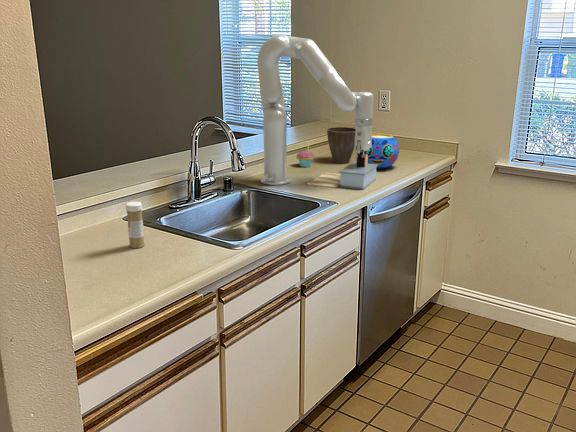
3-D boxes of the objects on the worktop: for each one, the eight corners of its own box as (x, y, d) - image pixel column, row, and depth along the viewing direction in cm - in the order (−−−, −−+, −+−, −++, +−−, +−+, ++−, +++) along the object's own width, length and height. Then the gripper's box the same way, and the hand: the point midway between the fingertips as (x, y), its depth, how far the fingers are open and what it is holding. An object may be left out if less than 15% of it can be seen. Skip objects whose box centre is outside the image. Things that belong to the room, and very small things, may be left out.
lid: (364, 177, 238) (365, 161, 236) (338, 175, 242) (339, 159, 240) (377, 168, 254) (378, 152, 252) (353, 165, 259) (353, 150, 257)
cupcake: (317, 165, 282) (317, 140, 278) (308, 168, 275) (308, 143, 272) (302, 163, 286) (302, 138, 283) (292, 166, 280) (292, 141, 276)
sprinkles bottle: (130, 243, 180) (127, 201, 176) (145, 243, 181) (142, 200, 177) (128, 249, 176) (124, 205, 172) (143, 248, 177) (140, 205, 172)
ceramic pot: (357, 170, 272) (358, 138, 267) (364, 162, 288) (365, 131, 283) (395, 172, 267) (397, 140, 262) (400, 164, 283) (402, 133, 279)
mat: (336, 187, 242) (336, 186, 242) (306, 184, 248) (306, 183, 247) (352, 176, 262) (352, 175, 261) (325, 173, 267) (325, 172, 267)
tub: (363, 189, 240) (363, 175, 238) (340, 186, 244) (340, 172, 242) (375, 179, 256) (376, 165, 254) (353, 177, 259) (354, 163, 258)
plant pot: (335, 157, 299) (336, 125, 294) (362, 161, 291) (363, 128, 286) (320, 162, 287) (321, 130, 282) (347, 166, 279) (348, 133, 274)
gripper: (366, 125, 237) (364, 170, 243) (377, 120, 251) (375, 162, 257) (348, 124, 240) (347, 169, 246) (360, 119, 254) (359, 161, 260)
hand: (361, 165), depth 251 cm, fingers closed on lid, 3 cm apart
